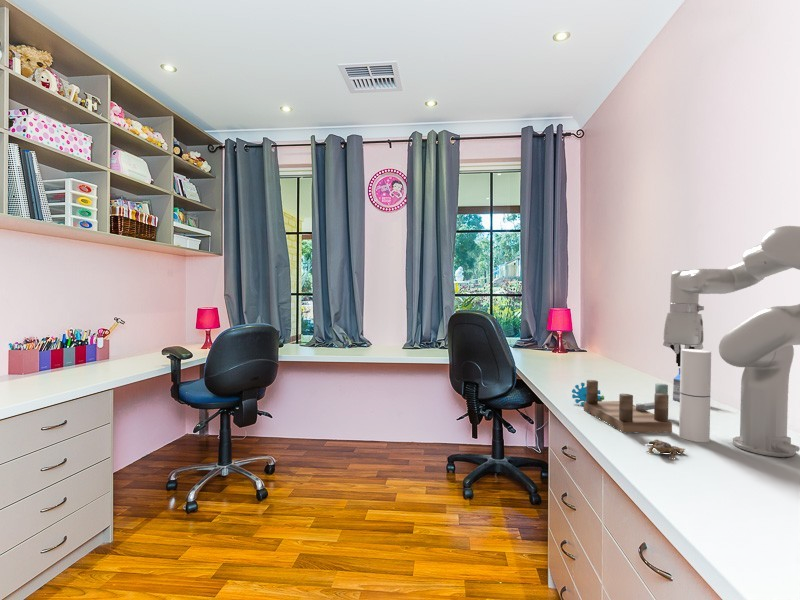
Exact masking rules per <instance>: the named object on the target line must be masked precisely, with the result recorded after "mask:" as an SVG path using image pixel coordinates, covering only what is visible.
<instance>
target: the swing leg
mask: <svg viewBox="0 0 800 600" xmlns="http://www.w3.org/2000/svg"><path fill="white" fill-rule="evenodd" d="M655 393H662V394H667V395H669V384H665V383H655V387H654V394H655ZM635 406H636V410H638V411H645V410H646V411H650V410H654V402H648V403H635Z"/></svg>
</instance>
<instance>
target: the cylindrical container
mask: <svg viewBox="0 0 800 600" xmlns="http://www.w3.org/2000/svg"><path fill="white" fill-rule="evenodd" d="M679 368H680V401H679V420H678V421H679V424H678V425H679V426H678V427H679V432H678V433H679V434H678V435H679V437H680V438H682V439H684V440H686V441H691V442H695V443H696V442H697V443H707V442H710V439H711V438H710V436H711V435H710V434H711V431H710V430H711V427H710V426H711V391H712V390H711V388H712V386H711V383H712V382H711V381H712V379H711V378H712V351H711V350H707V349H706V350H705V349H701V350H698V349H684V348H681V363H680V367H679Z"/></svg>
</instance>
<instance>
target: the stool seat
mask: <svg viewBox="0 0 800 600" xmlns="http://www.w3.org/2000/svg"><path fill="white" fill-rule="evenodd" d="M586 386H587V392H586V402H584V401H583V402H584V406H583V409H584V410H586V411H587V412H586V411H585V412H586V413H588V412H589V413H588V414H590V413H591V414H592V415H591V414H590V415H591V416H593V415H594V416H593V417H595V416H596V417H595V418H597V417H598V418H600V419H601V421H602V420H603V421H605V422H607V423H608V424H607V423H606V424H607V425H609V424H610V425H612V426H614V427H615V428H614V427H613V428H614V429H616V428H617V429H619V430H621V431H622V432H621V431H620V432H621V433H623V432H639V433H673V422H672V421H671V420H669V397H670V395H669V394H668V395H667V394H662V393H655V392H654V400H653V401H654V409H653V411H654V412H653V413H652V412H651V411H649V410H645V411H638V410H636V404H635V405H634V395H633V394H629V393H619V396H618V397H619V398H618V399H619V400H615V401H614V400H612V401H611V400H610V401H609V400H606V401H605V400H602V401H598V396H599V394H598V390H599V381H598V380H595V379H587V380H586ZM584 410H583V411H584ZM598 418H597V419H598ZM600 419H599V420H600ZM603 421H602V422H603ZM605 422H604V423H605ZM610 425H609V426H610ZM612 426H611V427H612ZM617 429H616V430H617ZM619 430H618V431H619Z"/></svg>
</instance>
